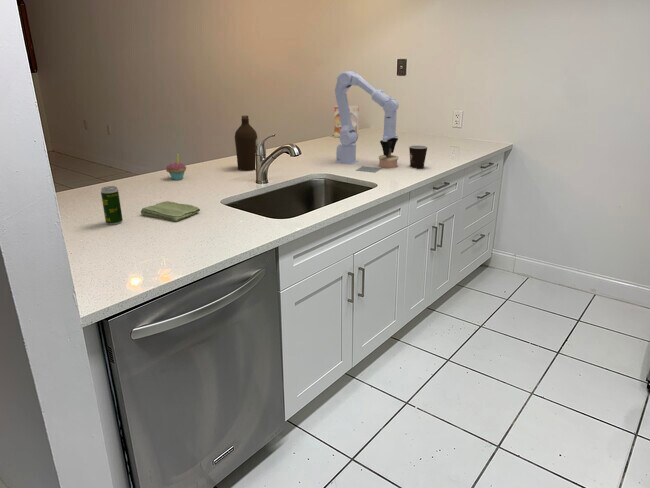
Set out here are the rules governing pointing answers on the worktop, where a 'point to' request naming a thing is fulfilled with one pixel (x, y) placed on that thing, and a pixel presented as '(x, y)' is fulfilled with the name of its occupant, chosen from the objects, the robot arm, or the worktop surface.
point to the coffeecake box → (354, 118)
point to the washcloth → (170, 211)
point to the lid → (388, 157)
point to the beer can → (111, 205)
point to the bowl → (387, 164)
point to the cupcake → (176, 169)
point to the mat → (368, 169)
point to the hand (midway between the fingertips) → (388, 154)
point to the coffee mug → (417, 156)
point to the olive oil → (245, 145)
